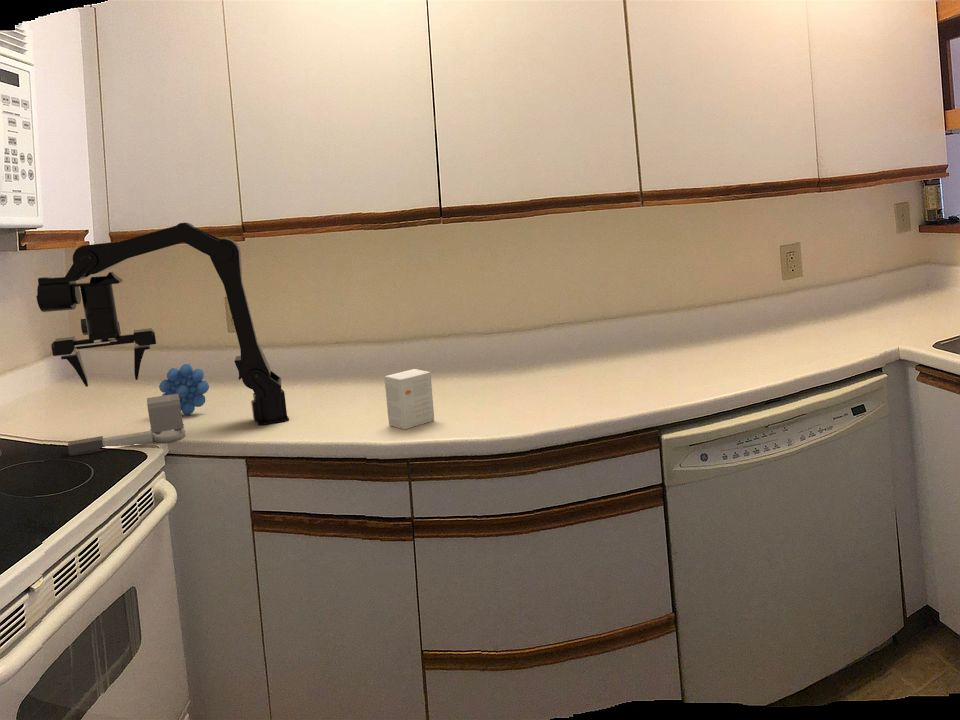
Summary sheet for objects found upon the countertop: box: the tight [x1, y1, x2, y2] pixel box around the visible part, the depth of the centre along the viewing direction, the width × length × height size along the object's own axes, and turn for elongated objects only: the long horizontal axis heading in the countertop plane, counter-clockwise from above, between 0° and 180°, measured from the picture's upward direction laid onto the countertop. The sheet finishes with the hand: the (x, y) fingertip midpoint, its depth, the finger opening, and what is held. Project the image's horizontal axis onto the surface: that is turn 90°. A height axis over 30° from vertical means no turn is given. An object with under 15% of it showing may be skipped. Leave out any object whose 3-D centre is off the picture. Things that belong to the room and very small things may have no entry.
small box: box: [383, 368, 435, 430], centre depth 151 cm, size 8×6×10 cm
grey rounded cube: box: [146, 394, 185, 433], centre depth 151 cm, size 6×6×6 cm
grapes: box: [158, 363, 210, 416], centre depth 169 cm, size 12×7×12 cm, turn 88°
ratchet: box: [67, 423, 186, 455], centre depth 148 cm, size 21×6×6 cm, turn 113°
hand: (112, 382), depth 151 cm, fingers open, 9 cm apart
